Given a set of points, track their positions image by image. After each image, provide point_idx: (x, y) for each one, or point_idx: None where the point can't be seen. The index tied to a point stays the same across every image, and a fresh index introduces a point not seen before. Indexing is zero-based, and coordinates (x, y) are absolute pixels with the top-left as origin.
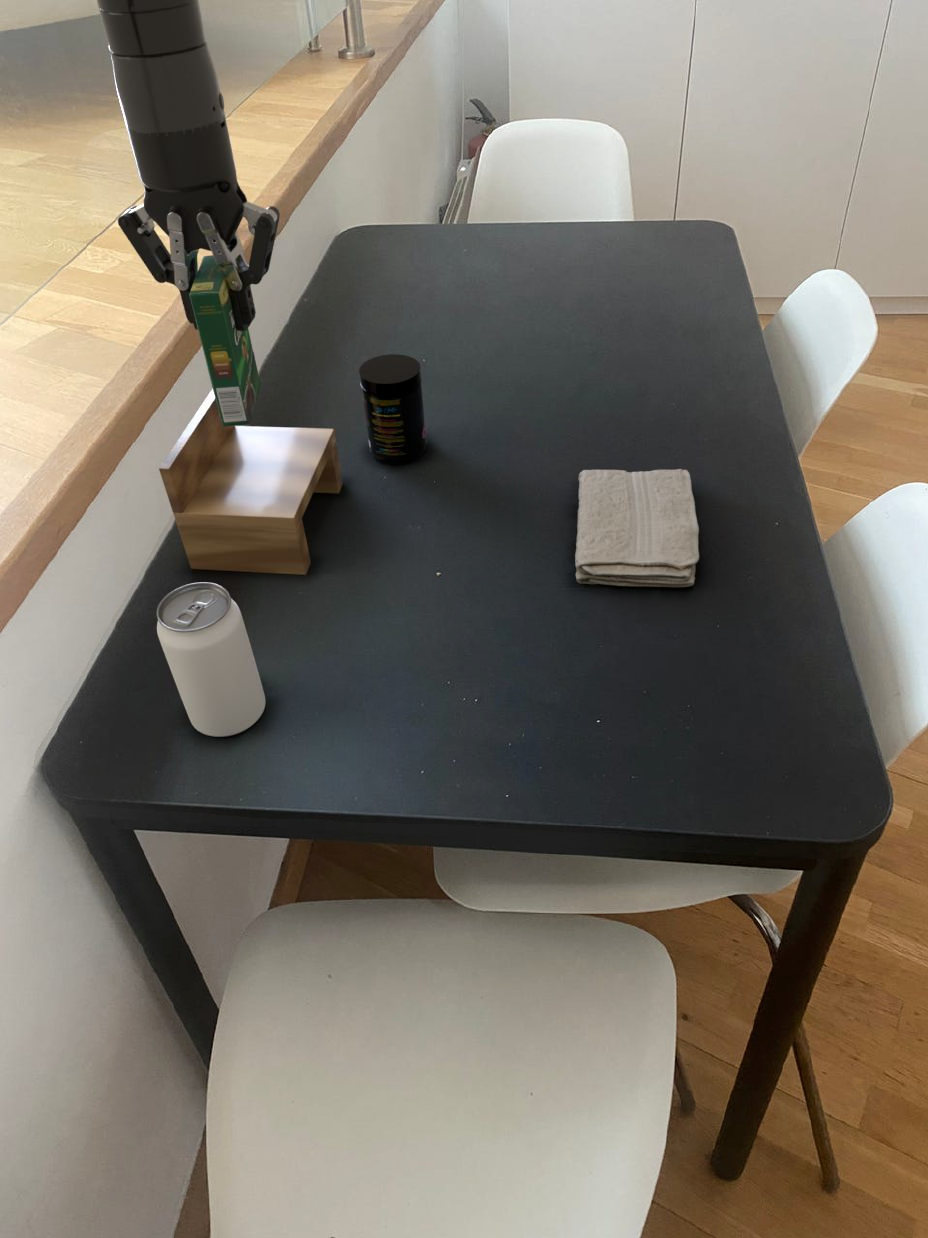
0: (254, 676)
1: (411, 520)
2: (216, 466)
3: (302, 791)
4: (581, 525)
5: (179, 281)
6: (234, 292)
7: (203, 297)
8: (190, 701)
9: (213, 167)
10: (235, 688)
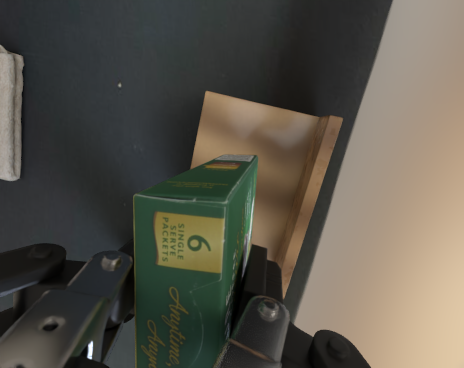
0: None
1: (140, 157)
2: (288, 196)
3: None
4: (5, 102)
5: (273, 315)
6: (132, 253)
7: (187, 192)
8: None
9: None
10: None
